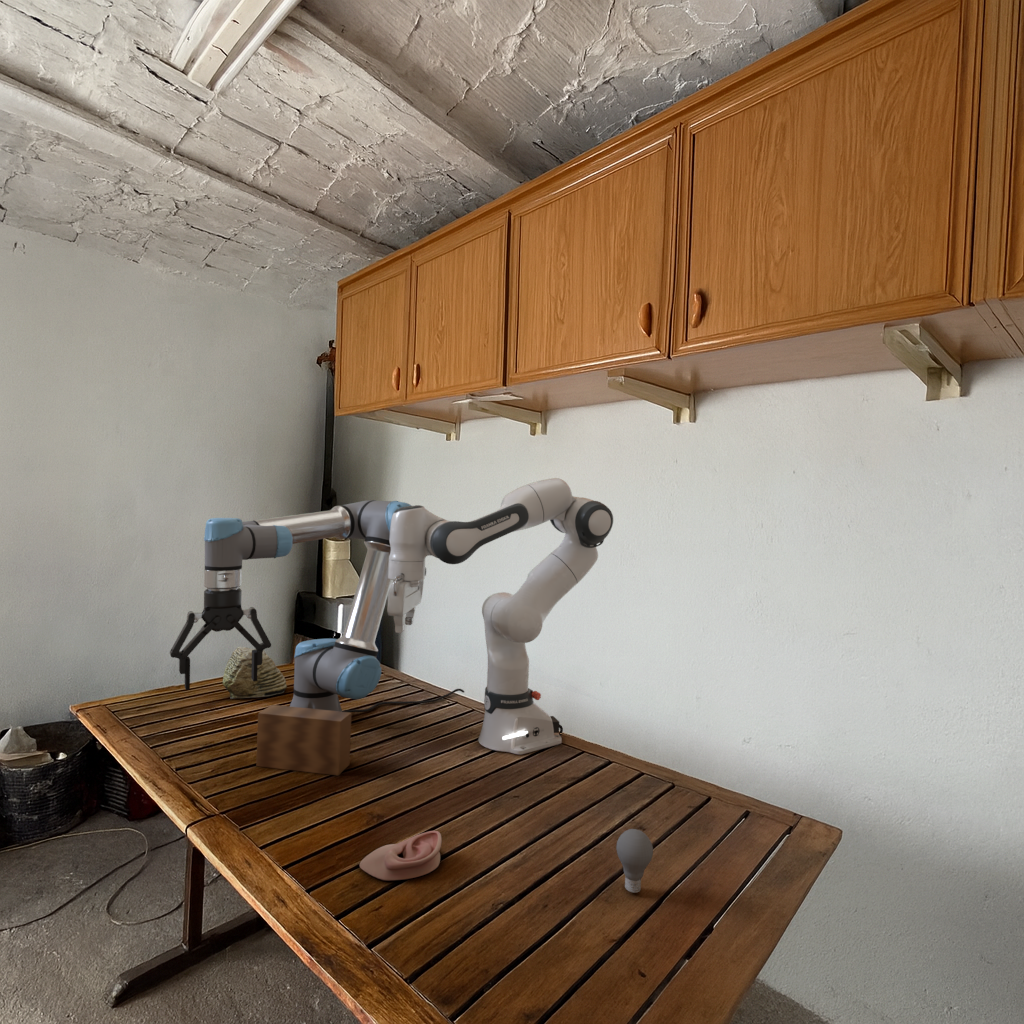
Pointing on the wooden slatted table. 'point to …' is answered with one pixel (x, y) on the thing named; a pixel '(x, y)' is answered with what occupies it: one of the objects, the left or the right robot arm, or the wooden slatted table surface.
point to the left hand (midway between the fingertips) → (221, 683)
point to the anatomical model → (405, 858)
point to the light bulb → (634, 857)
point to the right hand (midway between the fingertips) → (404, 628)
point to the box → (304, 739)
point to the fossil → (240, 676)
